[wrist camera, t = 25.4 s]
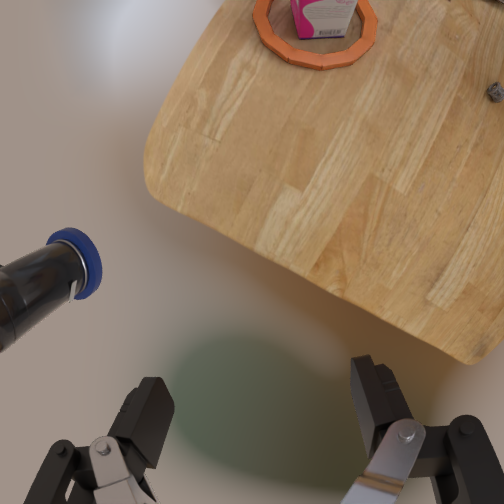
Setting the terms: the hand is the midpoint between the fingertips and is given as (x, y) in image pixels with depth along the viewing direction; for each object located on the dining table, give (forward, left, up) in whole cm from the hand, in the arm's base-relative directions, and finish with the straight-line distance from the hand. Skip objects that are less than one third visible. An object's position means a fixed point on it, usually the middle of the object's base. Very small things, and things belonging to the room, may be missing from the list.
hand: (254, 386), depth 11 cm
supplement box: (+12, +25, -26) cm, 38 cm away
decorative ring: (+35, +12, -26) cm, 46 cm away
